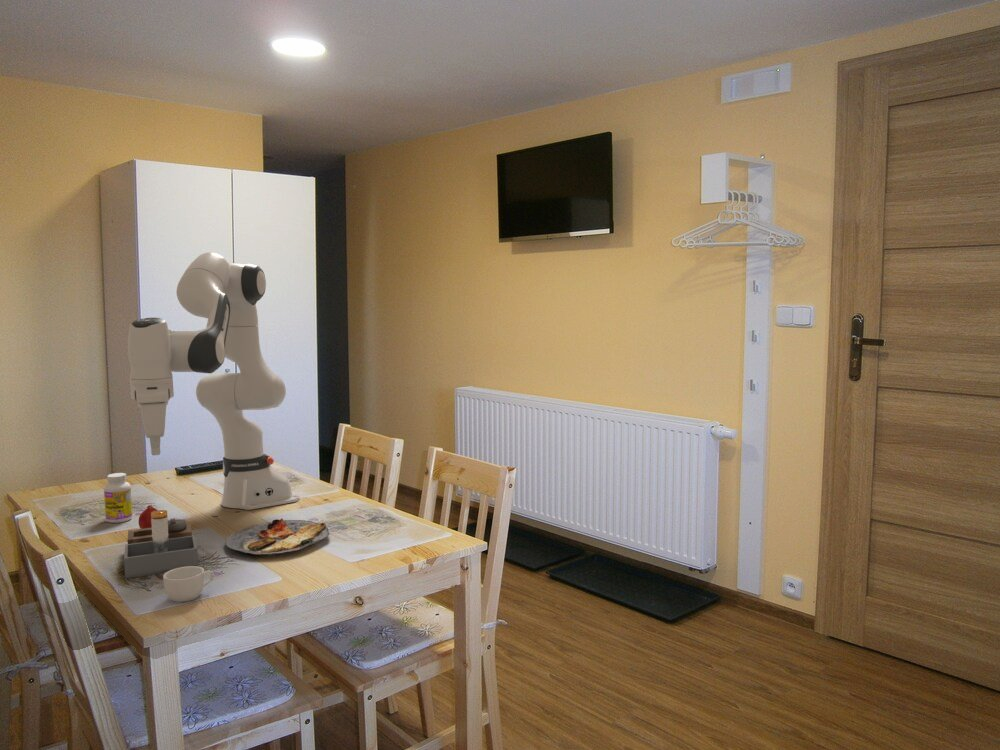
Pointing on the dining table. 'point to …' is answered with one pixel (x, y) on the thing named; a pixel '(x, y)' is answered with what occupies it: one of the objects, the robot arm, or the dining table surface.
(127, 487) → the supplement bottle
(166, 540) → the pin
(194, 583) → the teacup
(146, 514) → the red round piece
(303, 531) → the food plate
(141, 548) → the parts tray
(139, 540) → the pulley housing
